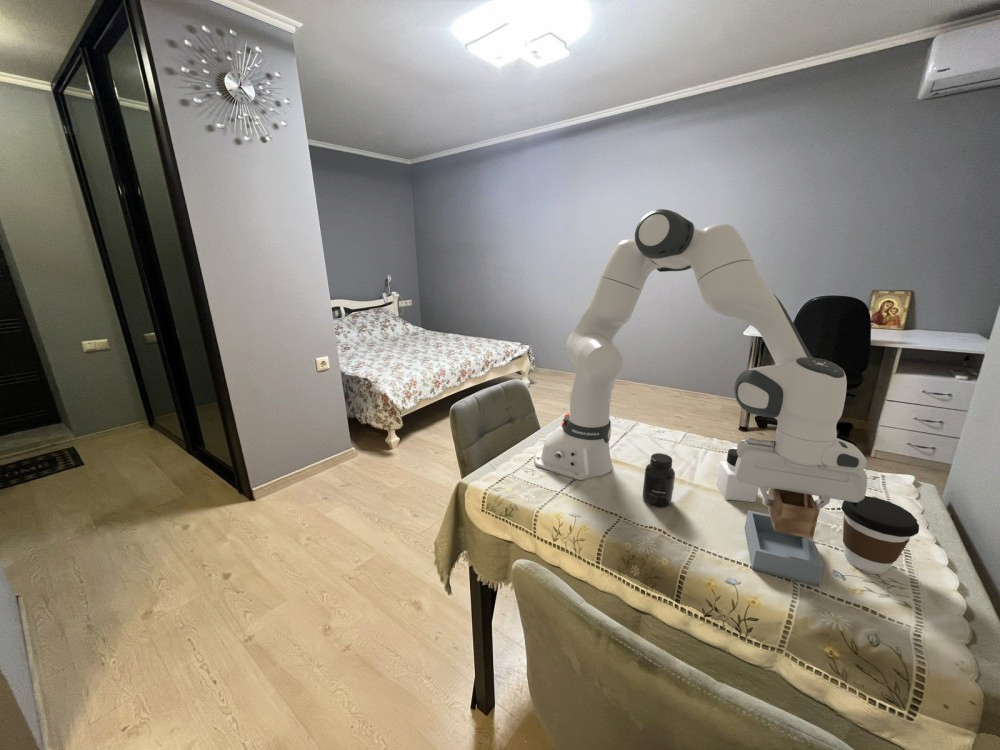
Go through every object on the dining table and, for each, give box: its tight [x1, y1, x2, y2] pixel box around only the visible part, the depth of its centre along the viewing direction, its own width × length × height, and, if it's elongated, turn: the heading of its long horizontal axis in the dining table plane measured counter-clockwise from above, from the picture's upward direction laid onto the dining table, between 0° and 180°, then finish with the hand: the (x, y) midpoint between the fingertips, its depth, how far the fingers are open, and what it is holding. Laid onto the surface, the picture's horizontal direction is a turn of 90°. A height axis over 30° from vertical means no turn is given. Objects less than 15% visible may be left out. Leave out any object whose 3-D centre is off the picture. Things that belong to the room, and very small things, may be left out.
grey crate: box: [744, 509, 825, 588], centre depth 81 cm, size 11×14×4 cm
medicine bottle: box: [716, 446, 760, 503], centre depth 101 cm, size 7×7×12 cm
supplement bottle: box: [642, 452, 676, 509], centre depth 99 cm, size 7×7×12 cm
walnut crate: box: [766, 488, 820, 540], centre depth 78 cm, size 6×9×6 cm, turn 155°
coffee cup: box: [840, 495, 920, 575], centre depth 78 cm, size 11×11×12 cm
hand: (789, 508), depth 79 cm, fingers closed on walnut crate, 6 cm apart
